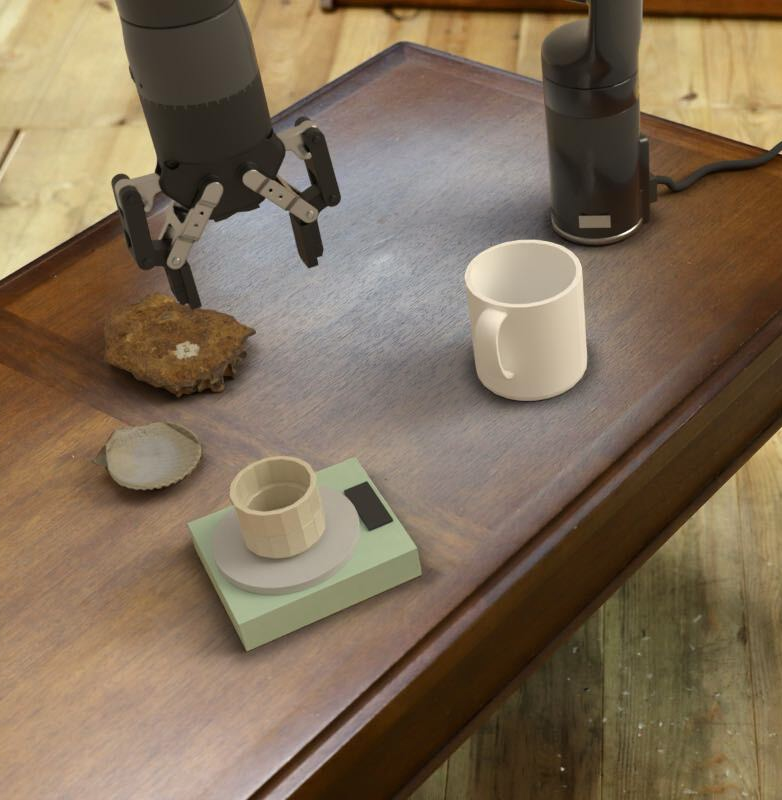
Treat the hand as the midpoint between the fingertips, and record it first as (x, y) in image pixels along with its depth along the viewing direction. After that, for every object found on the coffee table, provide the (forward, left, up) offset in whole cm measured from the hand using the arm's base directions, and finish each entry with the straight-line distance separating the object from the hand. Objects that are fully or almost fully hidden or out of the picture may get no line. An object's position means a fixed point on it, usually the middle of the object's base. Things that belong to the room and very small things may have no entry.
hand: (252, 282), depth 96 cm
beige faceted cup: (+3, +5, -19) cm, 20 cm away
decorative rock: (+3, -26, -23) cm, 35 cm away
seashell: (+9, -12, -23) cm, 27 cm away
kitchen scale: (+2, +5, -23) cm, 23 cm away
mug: (-23, -6, -23) cm, 33 cm away
